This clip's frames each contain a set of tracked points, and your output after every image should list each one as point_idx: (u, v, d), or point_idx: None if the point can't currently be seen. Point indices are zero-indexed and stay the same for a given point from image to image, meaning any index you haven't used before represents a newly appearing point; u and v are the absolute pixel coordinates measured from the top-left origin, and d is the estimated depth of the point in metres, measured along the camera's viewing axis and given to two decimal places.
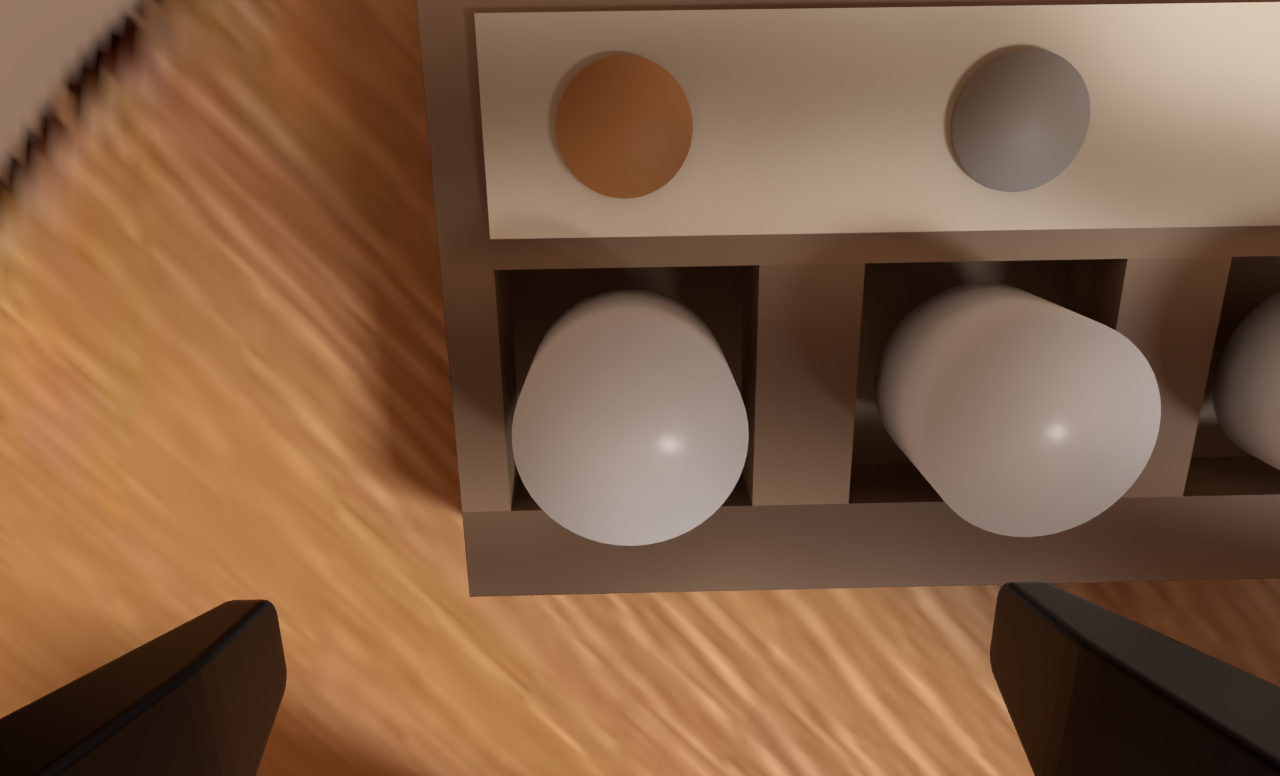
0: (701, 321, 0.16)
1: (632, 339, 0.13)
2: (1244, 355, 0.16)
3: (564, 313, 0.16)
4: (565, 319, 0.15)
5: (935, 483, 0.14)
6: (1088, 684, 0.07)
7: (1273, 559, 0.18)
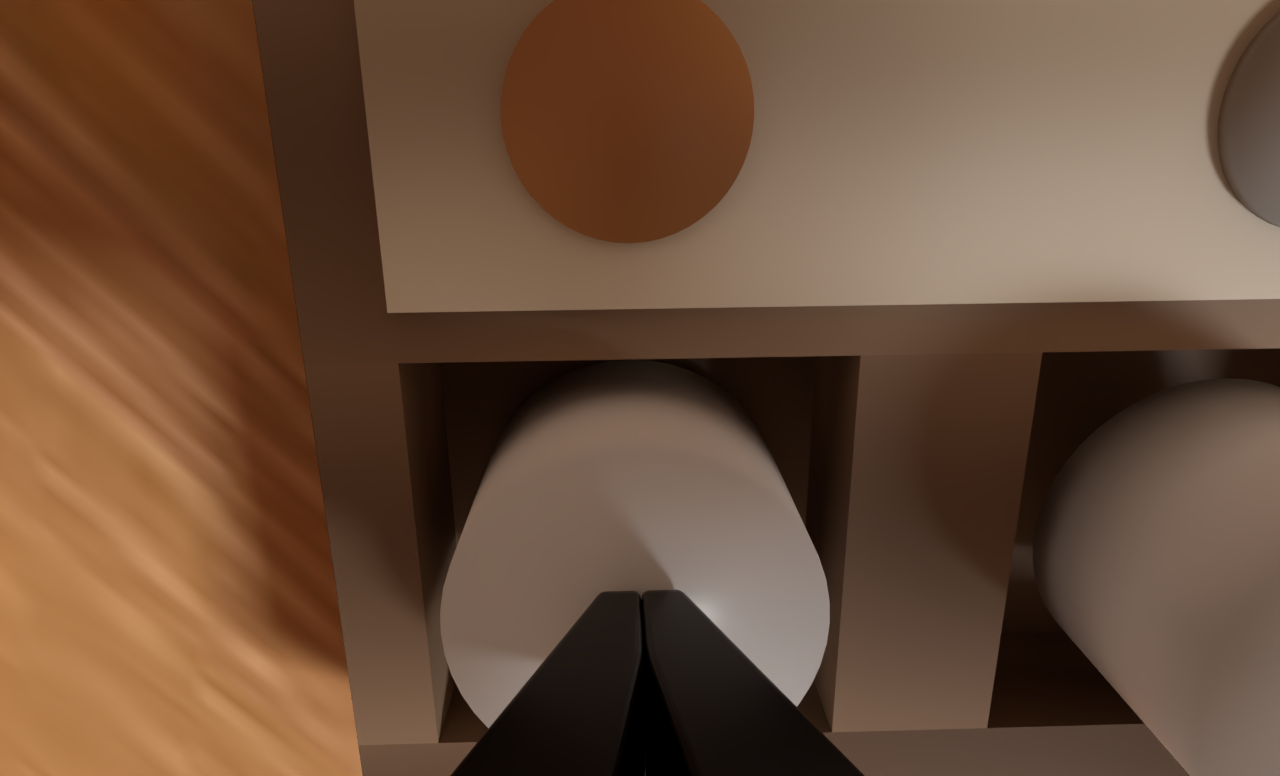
0: (741, 410, 0.11)
1: (641, 472, 0.08)
2: None
3: (533, 397, 0.11)
4: (533, 412, 0.10)
5: (1201, 774, 0.08)
6: (651, 696, 0.07)
7: None
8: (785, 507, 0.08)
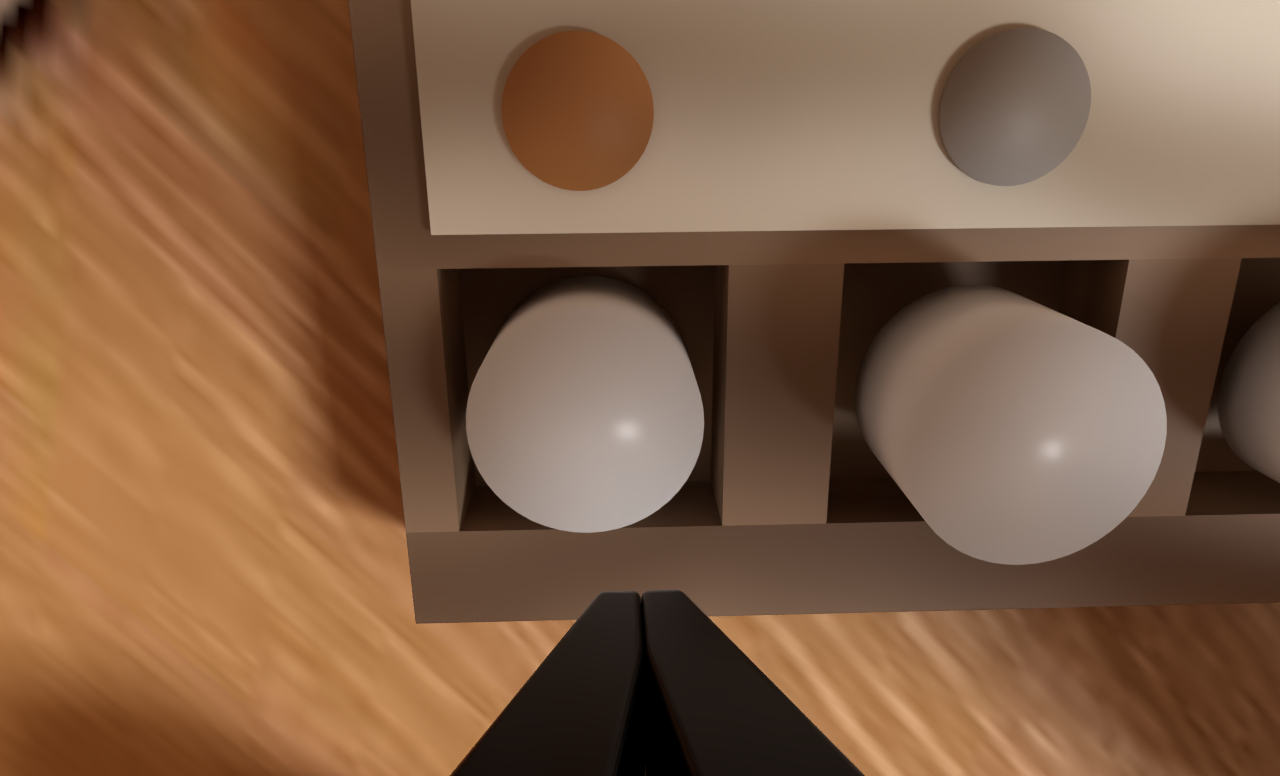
0: (661, 308, 0.16)
1: (586, 324, 0.13)
2: (1253, 364, 0.15)
3: (524, 300, 0.16)
4: (523, 305, 0.15)
5: (919, 506, 0.13)
6: (650, 696, 0.07)
7: None
8: (673, 348, 0.14)
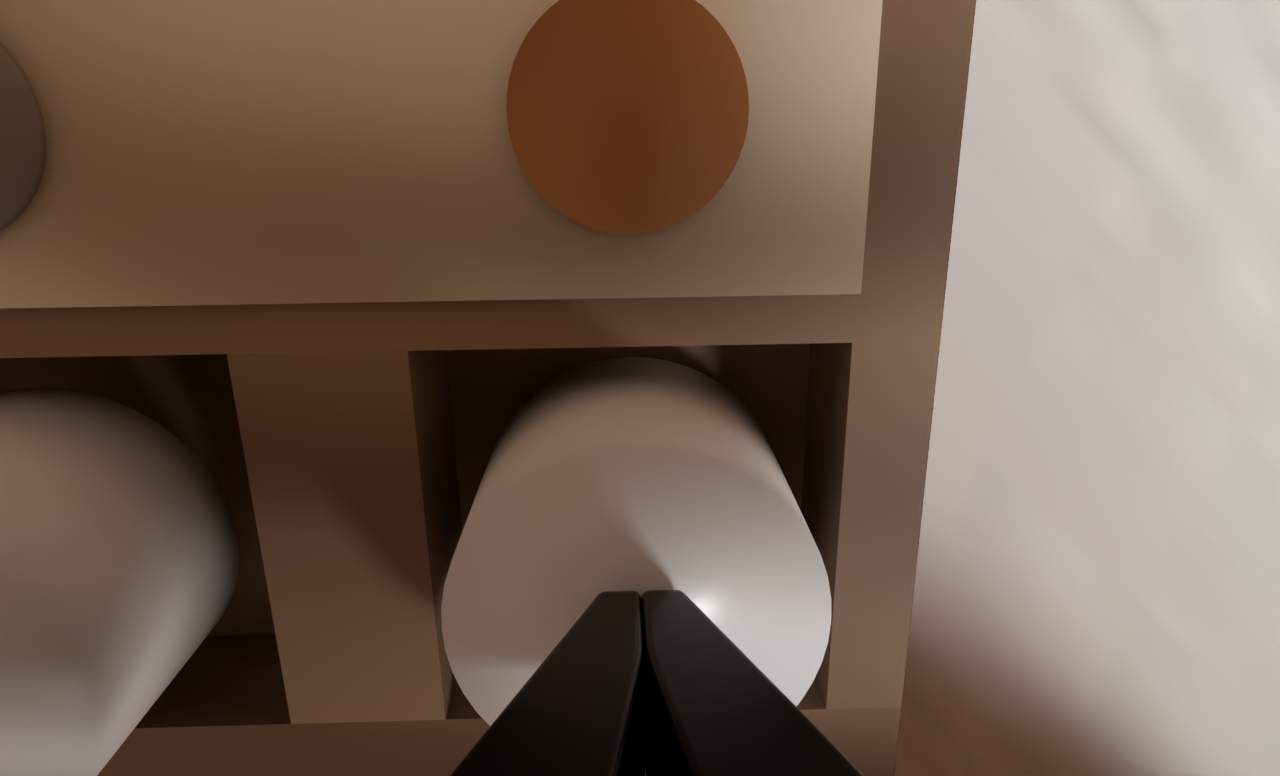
0: None
1: None
2: None
3: None
4: None
5: None
6: (650, 696, 0.07)
7: None
8: None
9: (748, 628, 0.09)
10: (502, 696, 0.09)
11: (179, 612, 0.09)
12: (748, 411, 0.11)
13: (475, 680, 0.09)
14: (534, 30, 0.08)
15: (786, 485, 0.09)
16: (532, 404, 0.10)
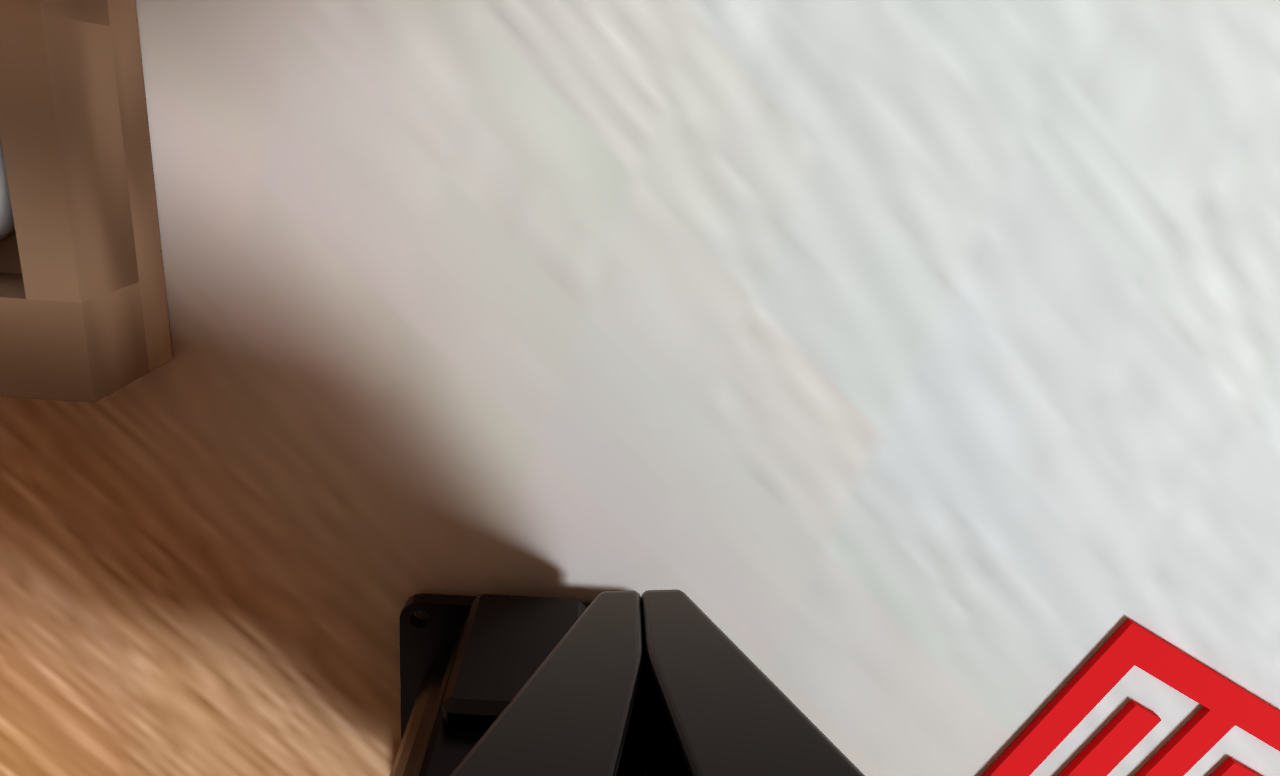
0: None
1: None
2: None
3: None
4: None
5: None
6: (650, 696, 0.07)
7: None
8: None
9: None
10: None
11: None
12: None
13: None
14: None
15: None
16: None
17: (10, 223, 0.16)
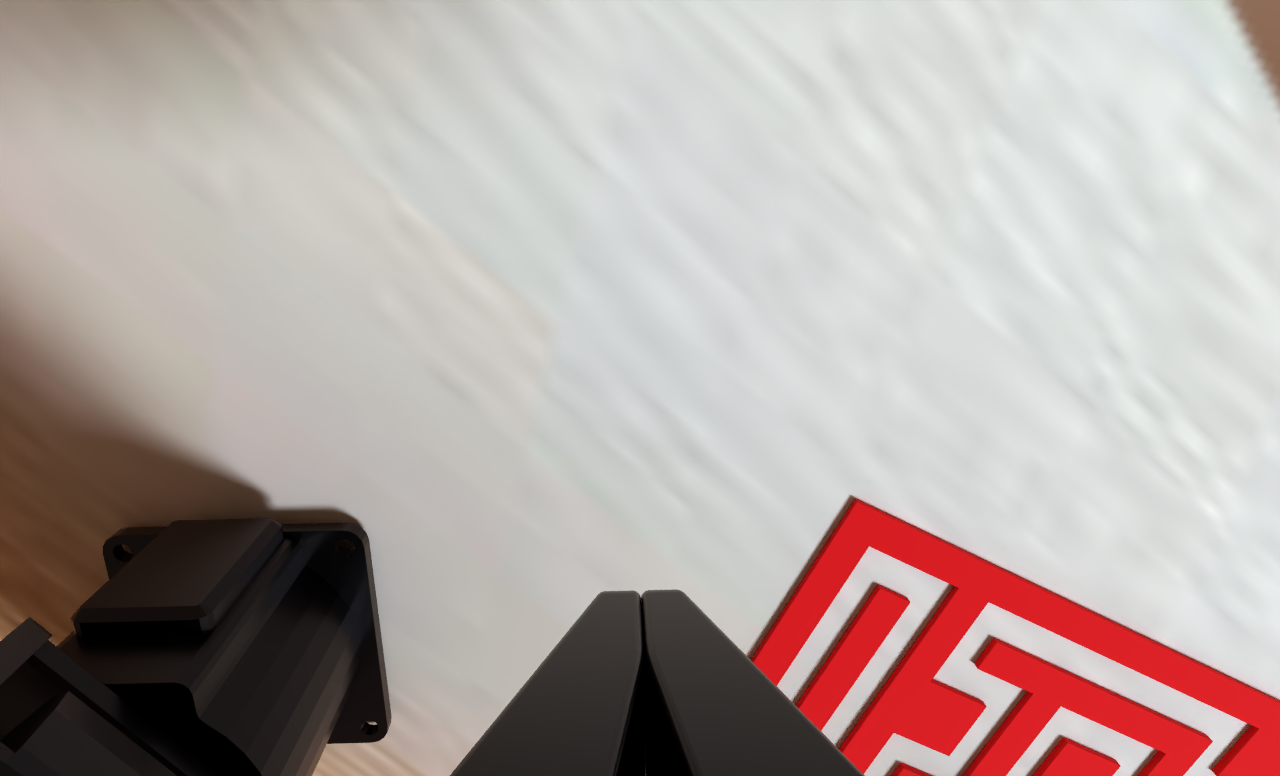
0: None
1: None
2: None
3: None
4: None
5: None
6: (650, 696, 0.07)
7: None
8: None
9: None
10: None
11: None
12: None
13: None
14: None
15: None
16: None
17: None
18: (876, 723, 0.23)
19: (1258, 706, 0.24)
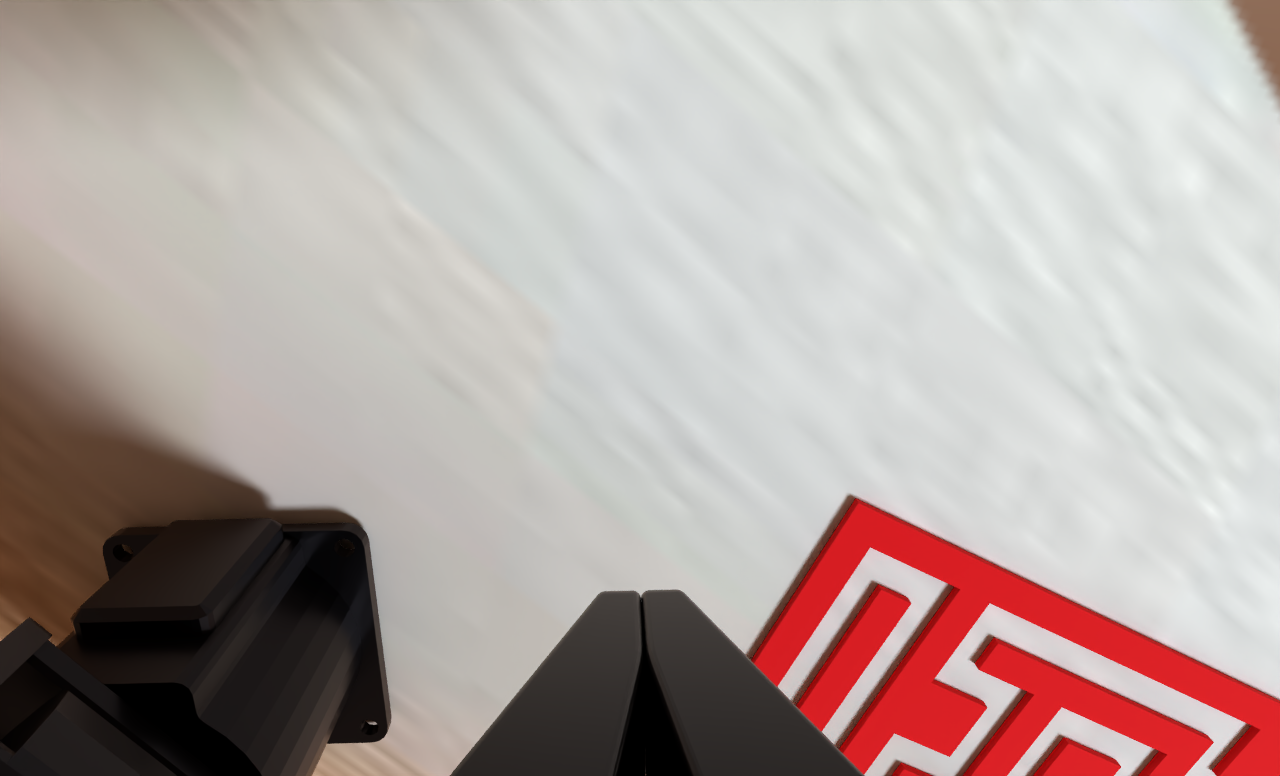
0: None
1: None
2: None
3: None
4: None
5: None
6: (650, 696, 0.07)
7: None
8: None
9: None
10: None
11: None
12: None
13: None
14: None
15: None
16: None
17: None
18: (877, 724, 0.23)
19: (1259, 708, 0.24)
